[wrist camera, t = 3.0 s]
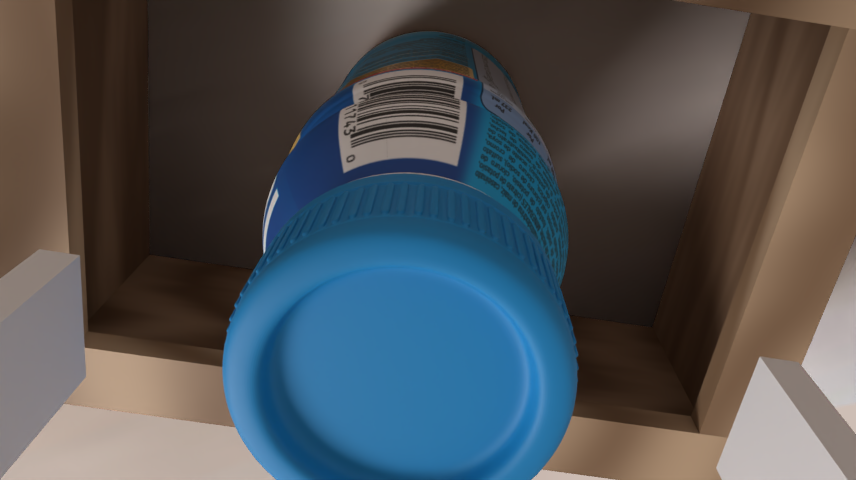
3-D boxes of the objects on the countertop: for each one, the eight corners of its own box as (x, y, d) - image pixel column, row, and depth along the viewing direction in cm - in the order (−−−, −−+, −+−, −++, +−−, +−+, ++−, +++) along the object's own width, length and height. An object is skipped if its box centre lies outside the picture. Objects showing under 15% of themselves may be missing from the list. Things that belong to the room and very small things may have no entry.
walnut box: (125, 273, 35) (7, 396, 25) (114, -171, 27) (-58, -224, 18) (669, 351, 36) (745, 497, 26) (804, -59, 28) (977, -54, 19)
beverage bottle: (565, 105, 31) (734, 359, 12) (448, 248, 34) (445, 627, 15) (406, -18, 29) (330, 66, 11) (296, 144, 32) (87, 431, 14)
